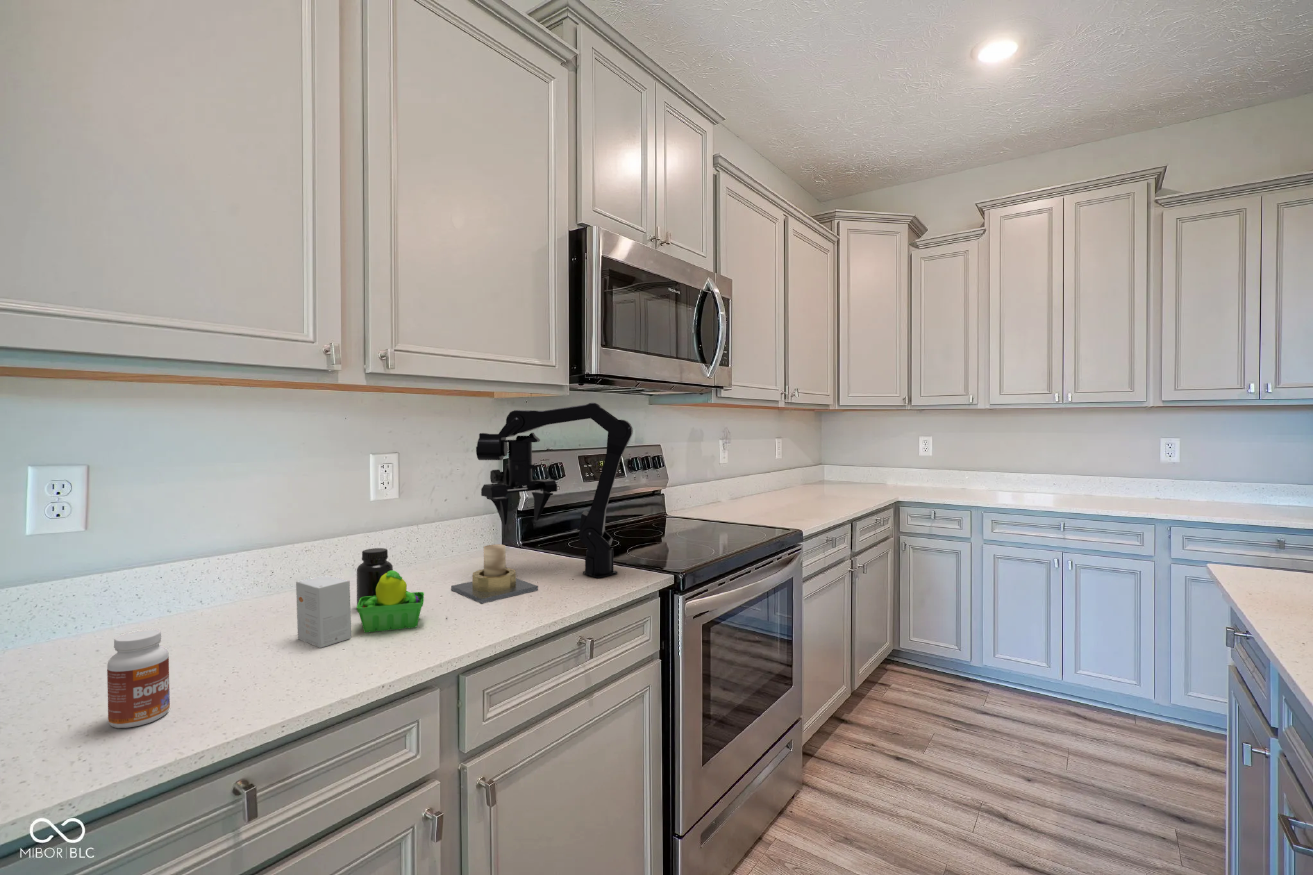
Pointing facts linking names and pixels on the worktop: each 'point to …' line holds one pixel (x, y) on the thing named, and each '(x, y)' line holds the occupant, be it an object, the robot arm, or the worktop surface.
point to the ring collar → (493, 586)
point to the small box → (323, 610)
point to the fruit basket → (390, 605)
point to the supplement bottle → (371, 571)
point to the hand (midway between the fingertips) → (520, 522)
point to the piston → (494, 560)
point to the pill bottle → (138, 679)
